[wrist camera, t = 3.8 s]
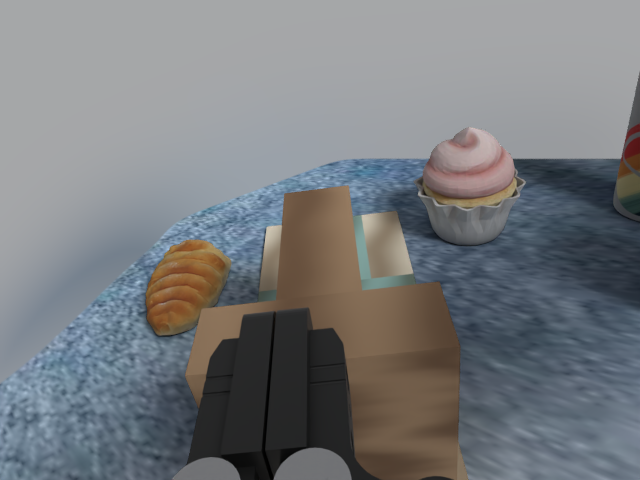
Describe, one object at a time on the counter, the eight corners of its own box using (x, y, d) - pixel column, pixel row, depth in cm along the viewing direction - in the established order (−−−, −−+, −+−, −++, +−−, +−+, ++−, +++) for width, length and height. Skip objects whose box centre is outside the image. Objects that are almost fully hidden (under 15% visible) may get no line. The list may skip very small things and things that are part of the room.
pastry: (213, 339, 41) (200, 303, 39) (132, 344, 42) (115, 309, 39) (236, 266, 48) (226, 232, 46) (167, 271, 49) (154, 238, 47)
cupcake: (395, 236, 49) (389, 136, 43) (451, 192, 54) (452, 98, 48) (486, 271, 43) (492, 162, 37) (539, 219, 48) (552, 115, 42)
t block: (412, 321, 39) (405, 178, 32) (456, 508, 27) (460, 346, 20) (266, 337, 39) (229, 200, 32) (247, 526, 28) (185, 375, 21)
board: (396, 214, 51) (396, 210, 51) (477, 520, 27) (478, 516, 27) (267, 230, 52) (266, 226, 52) (230, 541, 28) (228, 538, 27)
